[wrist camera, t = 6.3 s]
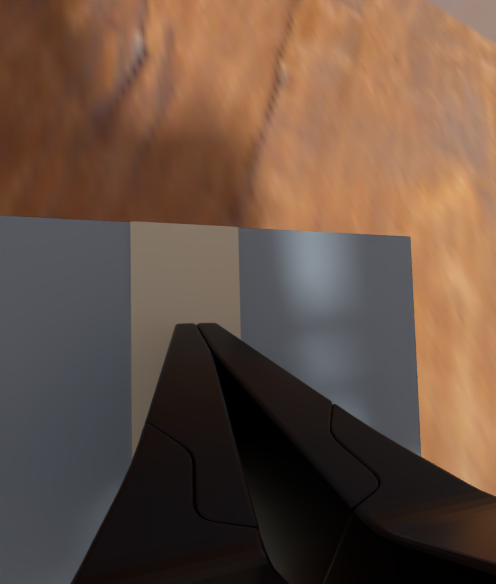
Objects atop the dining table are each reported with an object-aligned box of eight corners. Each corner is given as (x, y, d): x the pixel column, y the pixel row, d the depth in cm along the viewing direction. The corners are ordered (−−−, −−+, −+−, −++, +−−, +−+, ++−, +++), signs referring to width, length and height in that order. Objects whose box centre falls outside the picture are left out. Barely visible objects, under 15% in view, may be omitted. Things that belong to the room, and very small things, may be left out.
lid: (405, 547, 12) (429, 565, 11) (-160, 693, 8) (-193, 740, 7) (391, 241, 12) (412, 235, 11) (-144, 217, 8) (-172, 205, 7)
